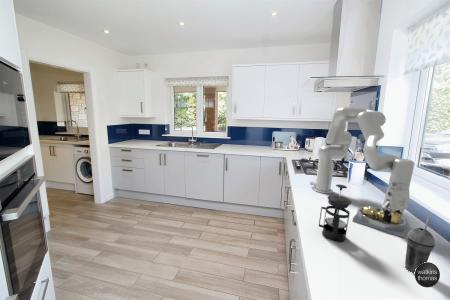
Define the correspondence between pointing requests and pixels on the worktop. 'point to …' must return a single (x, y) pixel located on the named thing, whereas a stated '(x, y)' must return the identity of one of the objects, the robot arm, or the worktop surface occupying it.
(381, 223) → the carrier
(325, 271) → the worktop surface
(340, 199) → the french press
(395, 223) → the gear
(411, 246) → the beverage cup
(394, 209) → the robot arm
